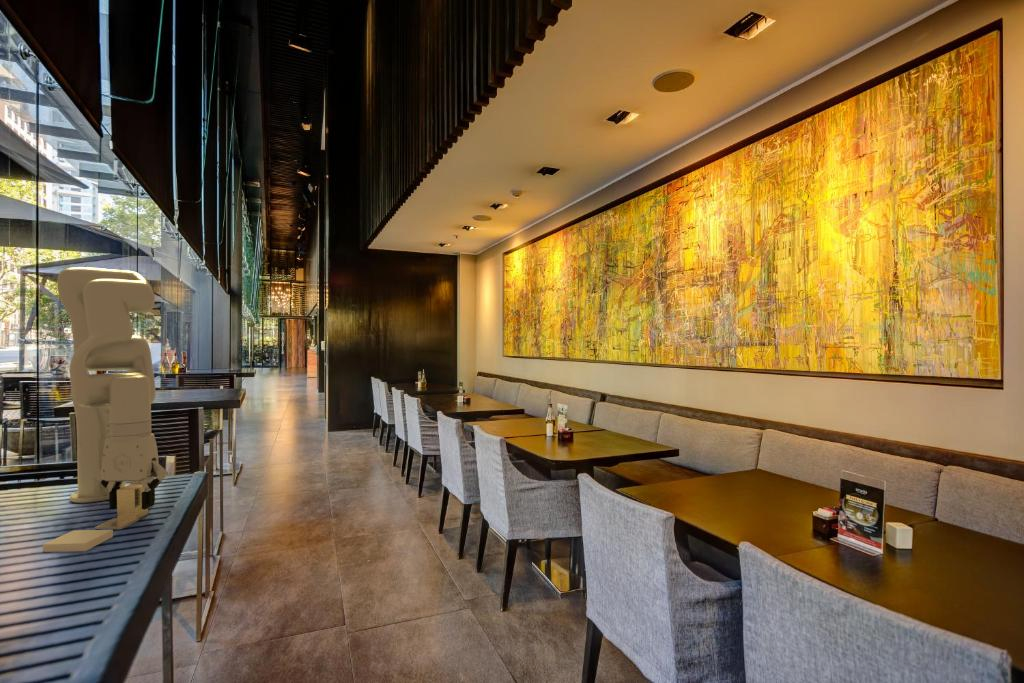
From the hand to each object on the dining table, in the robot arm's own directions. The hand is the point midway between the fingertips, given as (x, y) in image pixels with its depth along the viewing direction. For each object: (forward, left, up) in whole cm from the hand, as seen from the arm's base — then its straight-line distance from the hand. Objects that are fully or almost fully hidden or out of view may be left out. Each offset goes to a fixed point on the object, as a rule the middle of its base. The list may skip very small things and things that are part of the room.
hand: (132, 506), depth 115 cm
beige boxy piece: (+2, -2, -2) cm, 3 cm away
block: (+8, -8, -2) cm, 11 cm away
